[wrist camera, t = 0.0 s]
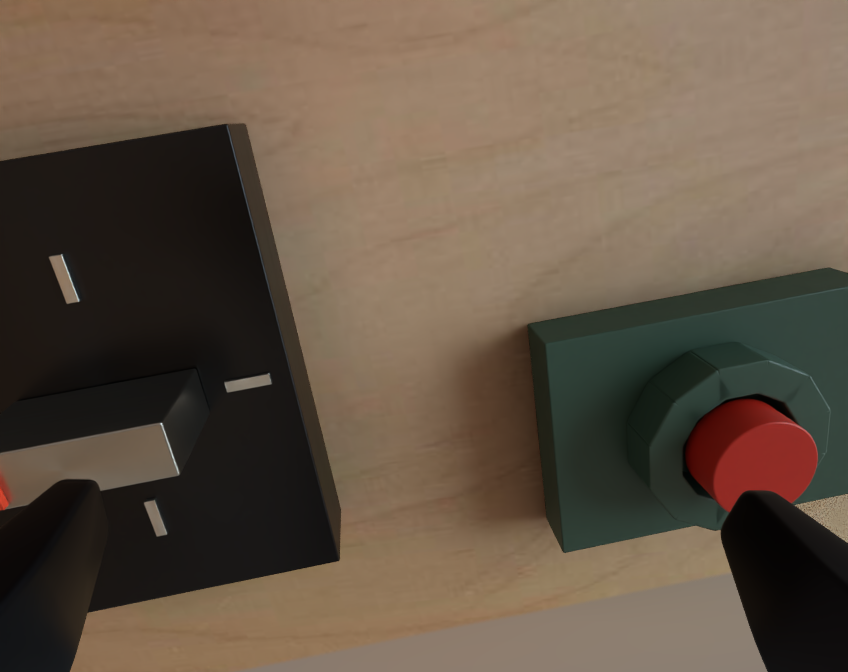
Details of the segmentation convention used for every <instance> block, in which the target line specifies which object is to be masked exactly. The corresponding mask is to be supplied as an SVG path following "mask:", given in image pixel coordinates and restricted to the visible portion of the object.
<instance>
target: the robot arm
mask: <svg viewBox="0 0 848 672" xmlns="http://www.w3.org/2000/svg"><path fill="white" fill-rule="evenodd" d="M108 530H109V523H108V518H107V514H106V510H105V506H104V502H103V499H102V495H101V491H100V487H99V485H98V483H97V482H96V481H94V480H91V479H63V480H60V481H58V482H56V483H55V484H53V485H52V486H51V487H50V488H48V489H47V490H46V491H45V492H43V493H42V494H41V495H40V496H38V497H37V498H36V499H35V500H34V501H32V502H31V503H30V504H29V505H27V506H26V507H25V508H24V509H22V510H21V511H20V512H19V513H17V514H16V515H15V516H14V517H12V518H11V519H10V520H9V521H7V522H6V523H5V524H4V525H2V526H1V527H0V672H70V669H71V666H72V664H73V661H74V658H75V655H76V652H77V648H78V645H79V641H80V638H81V634H82V631H83V627H84V623H85V619H86V616H87V612H88V608H89V605H90V601H91V597H92V594H93V590H94V586H95V583H96V579H97V575H98V571H99V568H100V564H101V560H102V557H103V553H104V549H105V546H106V542H107V538H108ZM721 540H722V544H723V547H724V550H725V553H726V556H727V559H728V562H729V565H730V568H731V571H732V575H733V578H734V581H735V583H736V587H737V590H738V593H739V596H740V599H741V602H742V605H743V608H744V611H745V614H746V617H747V620H748V623H749V626H750V629H751V631H752V634H753V637H754V640H755V642H756V645H757V647H758V650H759V652H760V655H761V657H762V660H763V662H764V664H765V667H766V669H767V671H768V672H848V543H847V542H845V541H844V540H842V539H841V538H839V537H838V536H837V535H835V534H834V533H832V532H831V531H830V530H828V529H827V528H825V527H824V526H823V525H821V524H820V523H818V522H817V521H815V520H814V519H813V518H811V517H810V516H808V515H807V514H806V513H804V512H803V511H801V510H800V509H798V508H797V507H796V506H794V505H793V504H791V503H790V502H789V501H787V500H786V499H784V498H783V497H781V496H780V495H779V494H777V493H775V492H772V491H765V490H748V491H745V492H743V493H742V494H741V495H740V496H739V498H738V499H737V501H736V503H735V504H734V506H733V508H732V509H731V511H730V512H729V514H728V516H727V517H726V519H725V521H724V522H723V524H722V528H721Z"/></svg>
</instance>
